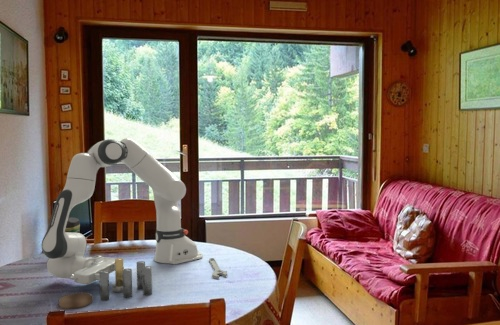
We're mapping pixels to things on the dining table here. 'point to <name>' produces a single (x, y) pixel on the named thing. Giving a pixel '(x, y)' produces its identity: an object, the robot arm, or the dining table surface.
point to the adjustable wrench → (216, 269)
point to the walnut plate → (75, 300)
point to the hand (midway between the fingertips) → (115, 272)
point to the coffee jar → (73, 225)
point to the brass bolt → (118, 276)
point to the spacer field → (128, 281)
